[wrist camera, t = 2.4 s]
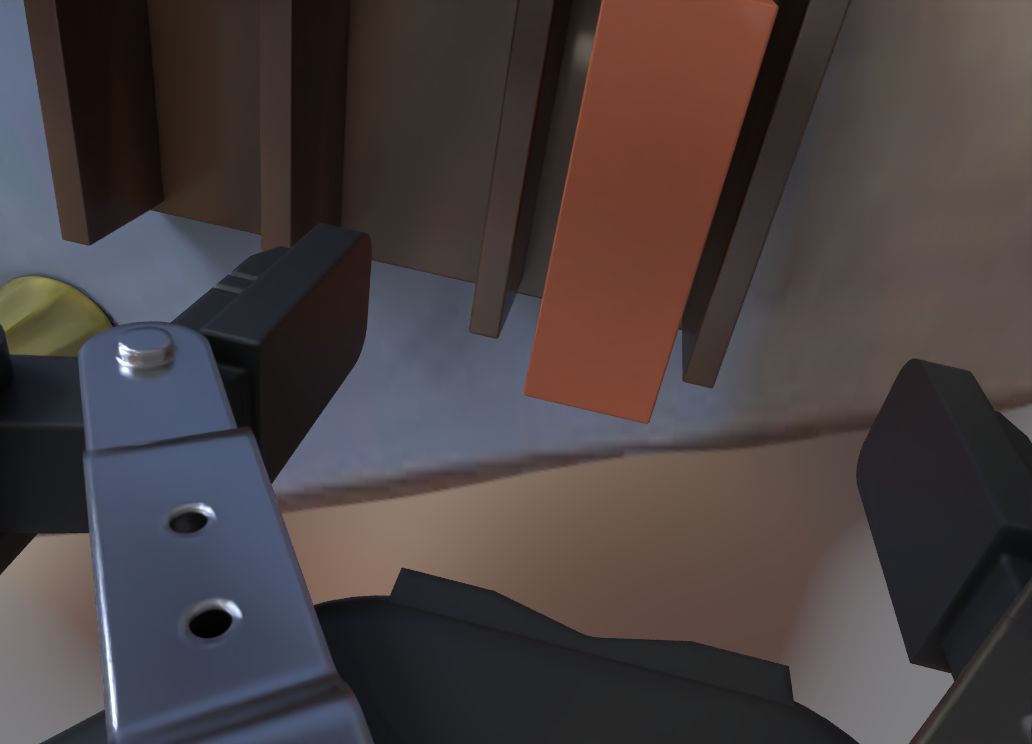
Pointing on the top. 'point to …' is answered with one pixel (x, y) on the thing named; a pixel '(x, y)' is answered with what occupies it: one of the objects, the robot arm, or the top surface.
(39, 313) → the vase
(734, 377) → the top surface
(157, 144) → the rack
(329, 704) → the robot arm
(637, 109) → the terracotta rectangular prism
